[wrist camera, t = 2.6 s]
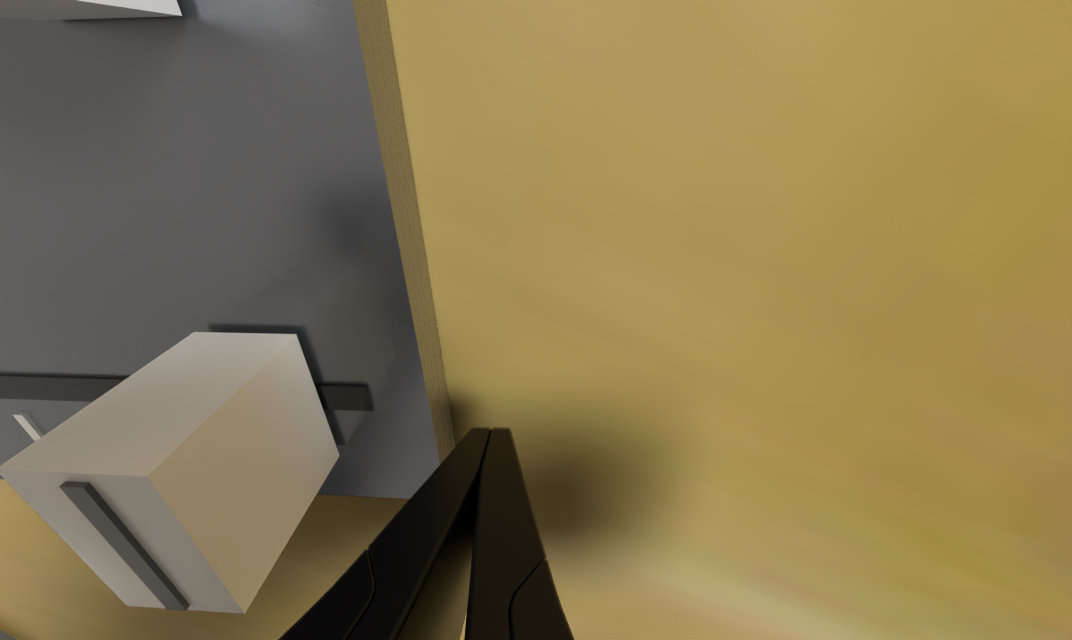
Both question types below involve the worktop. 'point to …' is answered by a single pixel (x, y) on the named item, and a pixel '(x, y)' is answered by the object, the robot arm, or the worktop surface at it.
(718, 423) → the worktop surface
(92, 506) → the block
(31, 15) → the block white
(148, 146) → the panel
